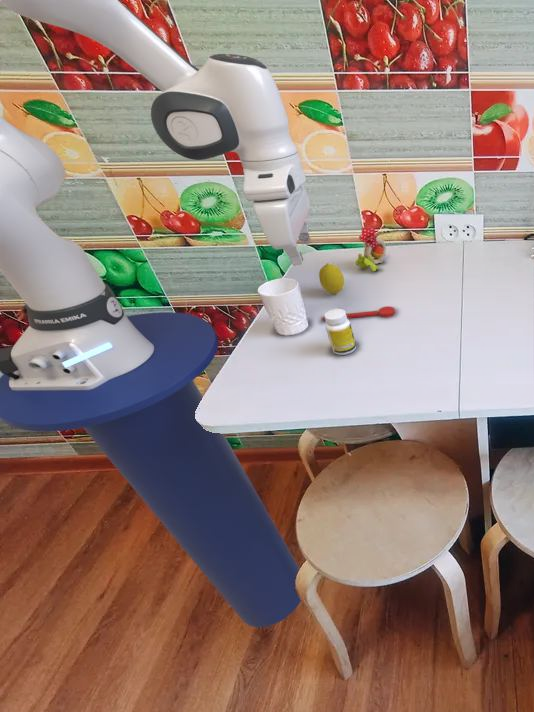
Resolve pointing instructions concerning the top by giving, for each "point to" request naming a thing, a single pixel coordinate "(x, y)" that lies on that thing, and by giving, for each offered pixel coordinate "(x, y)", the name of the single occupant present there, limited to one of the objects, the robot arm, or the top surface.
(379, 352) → the top surface
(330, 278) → the lemon
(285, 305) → the white cup
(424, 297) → the top surface
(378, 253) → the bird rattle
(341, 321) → the supplement bottle
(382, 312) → the spoon
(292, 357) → the top surface
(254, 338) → the top surface
